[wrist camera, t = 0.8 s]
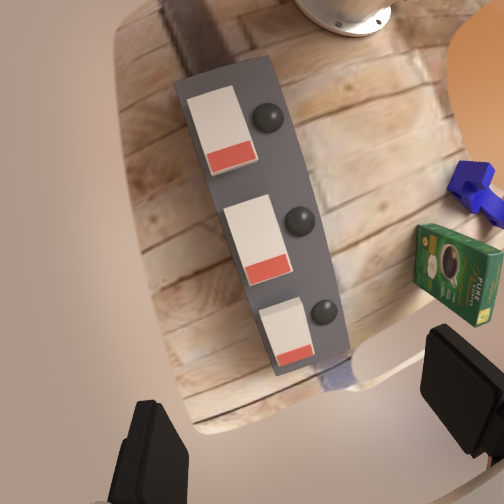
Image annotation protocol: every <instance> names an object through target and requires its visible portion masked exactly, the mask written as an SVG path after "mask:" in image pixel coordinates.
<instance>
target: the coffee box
mask: <svg viewBox="0 0 504 504" xmlns="http://www.w3.org/2000/svg"><path fill="white" fill-rule="evenodd" d="M503 256H504V252H503V251H501V250H498V249H496V248H494V247H492V246H489V245H487V244H485V243H482V242H480V241H478V240H475V239H473V238H470V237H468V236H465V235H463V234H460V233H458V232H455V231H453V230H451V229H447V228H445V227H443V226H440V225H437V224H433V223H427V224H419V225H418V231H417V250H416V263H415V272H414V274H415V275H414V284H416V285H417V286H418V287H420V288H421V289H423V290H425V291H426V292H427V293H429V294H430V295H432V296H433V297H434V298H436V299H437V300H439V301H440V302H441V303H443V304H444V305H445V306H447V307H448V308H449V309H451V310H452V311H454V312H455V313H456V314H457V315H459V316H460V317H461V318H463V319H464V320H465V321H467V322H468V323H469V324H470V325H472V326H473V327H475V328H476V327H478V326H481V325H483V324H486V323H488V322H490V320H491V316H492V312H493V308H494V303H495V299H496V294H497V289H498V285H499V279H500V274H501V268H502V262H503Z"/></svg>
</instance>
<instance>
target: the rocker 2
mask: <svg viewBox="0 0 504 504" xmlns="http://www.w3.org/2000/svg"><path fill="white" fill-rule="evenodd" d="M224 212H225V215H226V218H227V221H228V224H229V227H230V230H231V233H232V236H233V239H234V242H235V245H236V248H237V251H238V254H239V257H240V260H241V262H242V265H243V268H244V271H245V274H246V277H247V280H248V283H249V286H252V285H254V284H257V283H260V282H263V281H266V280H269V279H272V278H275V277H278V276H281V275H284V274H287V273H290V272H292V271H293V269H292V266H291V263H290V259H289V256H288V253H287V250H286V247H285V244H284V241H283V238H282V235H281V232H280V228H279V225H278V222H277V219H276V216H275V213H274V210H273V207H272V204H271V201H270V198H269V195H268V194H267V195H264V196H261V197H258V198H254V199H251V200H248V201H245V202H242V203H239V204H236V205H233V206H230V207H227V208H225V209H224Z"/></svg>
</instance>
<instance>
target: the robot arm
mask: <svg viewBox="0 0 504 504" xmlns="http://www.w3.org/2000/svg"><path fill="white" fill-rule="evenodd" d="M294 1H295V3H296V4H297V6H298V7H299V8H300V10H301V11H302V12H303V13H304V14H305V15H306V16H307V17H309V18H310V19H311V20H312V21H313V22H315V23H316V24H318V25H320V26H321V27H323V28H325V29H327V30H329V31H332V32H334V33H337V34H341V35H345V36H351V37H362V36H368V35H371V34H373V33H376V32H377V31H379V30H380V29H382V28H383V27H384V26H385V25H386V24H387V22H388V20H389V18H390V14H391V5H392V4H393V3H398V2H400V1H401V0H294ZM404 1H413V2H417V1H419V0H404ZM336 26H337V27H336ZM420 392H421V395H422V396H423V398H424V399H425V401H426V402H427V403H428V404H429V406H430V407H431V408H432V410H433V411H434V412H435V414H436V415H437V416H438V417H439V419H440V420H441V421H442V423H443V424H444V425H445V427H446V428H447V429H448V431H449V432H450V433H451V435H452V436H453V437H454V439H455V440H456V442H457V443H458V444H459V446H460V447H461V448H462V450H463V451H464V452H465V453H466V454H470V455H471V456H472V458H473V459H474V458H476V457H478V456H479V455H481V454H482V453H484V452H486V453H487V454H488V462H487V469H486V471H484V472H483V473H481V474H480V475H478V476H477V477H475V478H473V479H472V480H470V481H469V482H467V483H465V484H464V485H462V486H460V487H459V488H457V489H455V490H453V491H452V492H450V493H448V494H446V495H444V496H443V497H441V498H439V499H437V500H435V501H433V502H431V503H429V504H504V373H503V372H502V371H501V370H499V369H498V368H497V367H496V366H495V365H494V364H493V363H491V361H489V360H488V359H487V358H486V357H485V356H484V355H483V354H481V353H480V352H479V351H478V350H477V349H476V348H474V347H473V346H472V345H471V344H470V343H468V342H467V341H466V340H465V339H464V338H463V337H461V336H460V335H459V334H458V333H457V332H456V331H454V330H453V329H452V328H451V327H449V326H448V325H447V324H441V325H439V326H437V327H434V328H432V329H431V330H430V332H429V334H428V335H427V337H426V346H425V356H424V364H423V372H422V379H421V385H420ZM188 467H189V454H188V451H187V449H186V447H185V445H184V444H183V442H182V440H181V438H180V437H179V435H178V433H177V432H176V430H175V428H174V426H173V424H172V423H171V421H170V419H169V417H168V415H167V413H166V411H165V410H164V408H163V406H162V404H161V403H157V402H156V401H154V400H145V401H138V402H137V404H136V407H135V411H134V414H133V418H132V421H131V425H130V429H129V432H128V436H127V438H125V439H124V440H123V442H122V445H121V448H120V451H119V455H118V459H117V463H116V467H115V471H114V475H113V479H112V483H111V487H110V492H109V496H108V500H107V502H104V501H100V502H95V503H92V504H187V488H188Z"/></svg>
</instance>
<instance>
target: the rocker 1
mask: <svg viewBox="0 0 504 504" xmlns="http://www.w3.org/2000/svg"><path fill="white" fill-rule="evenodd" d="M187 102H188V105H189V108H190V111H191V114H192V118H193V121H194V124H195V127H196V130H197V133H198V136H199V139H200V142H201V145H202V148H203V151H204V154H205V157H206V160H207V163H208V166H209V169H210V172H211V175H212V177H213V176H216V175H219V174H222V173H225V172H228V171H231V170H234V169H237V168H240V167H243V166H246V165H249V164H252V163H256V162H258V160H259V158H258V155H257V153H256V150H255V147H254V144H253V141H252V138H251V136H250V133H249V130H248V127H247V124H246V122H245V119H244V116H243V113H242V111H241V108H240V105H239V103H238V100H237V97H236V94H235V92H234V89H233V86H232V85H231V86H228V87H224V88H221V89H218V90H214V91H211V92H208V93H205V94H202V95H199V96H196V97H193V98H190V99H187Z"/></svg>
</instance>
